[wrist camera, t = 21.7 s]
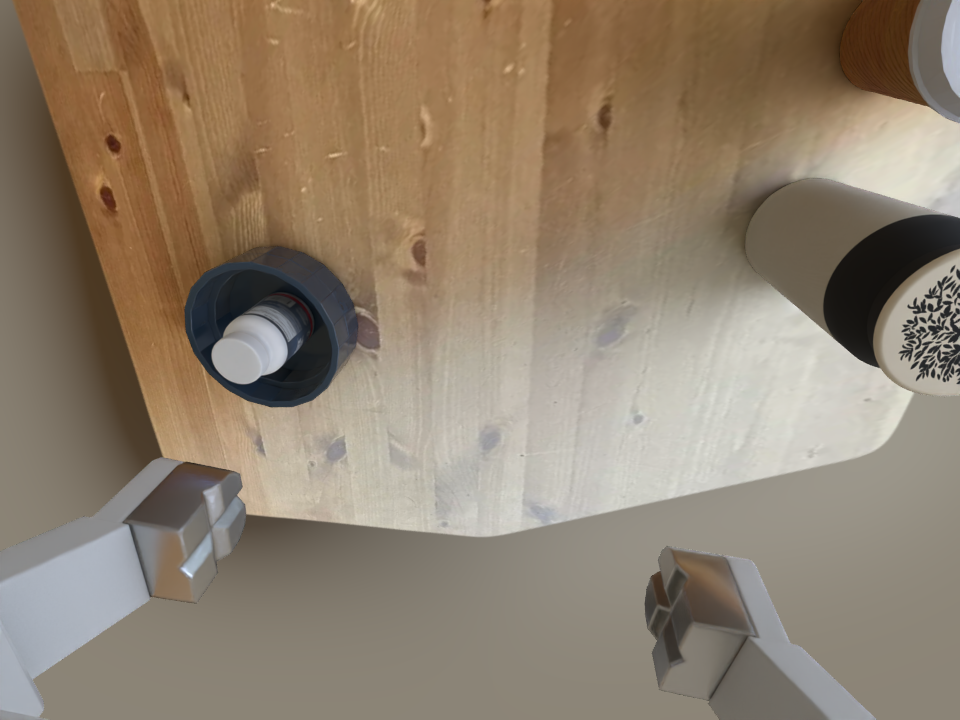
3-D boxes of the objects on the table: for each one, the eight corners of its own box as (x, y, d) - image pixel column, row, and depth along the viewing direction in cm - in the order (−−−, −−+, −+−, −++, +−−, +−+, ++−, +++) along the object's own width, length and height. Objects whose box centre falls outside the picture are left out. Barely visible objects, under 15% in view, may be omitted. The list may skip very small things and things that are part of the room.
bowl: (195, 304, 48) (155, 327, 43) (279, 212, 43) (245, 227, 38) (300, 400, 52) (274, 431, 47) (389, 326, 47) (370, 352, 42)
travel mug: (735, 284, 41) (851, 401, 25) (753, 180, 38) (900, 241, 22) (843, 282, 40) (1035, 403, 24) (872, 174, 37) (1118, 234, 21)
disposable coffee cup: (922, -99, 30) (1124, -205, 19) (1014, 21, 32) (1245, -16, 21) (780, 51, 34) (883, 30, 23) (870, 149, 36) (1002, 171, 25)
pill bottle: (287, 353, 49) (237, 403, 41) (248, 309, 47) (188, 352, 39) (327, 326, 47) (282, 372, 39) (288, 279, 45) (233, 318, 37)
